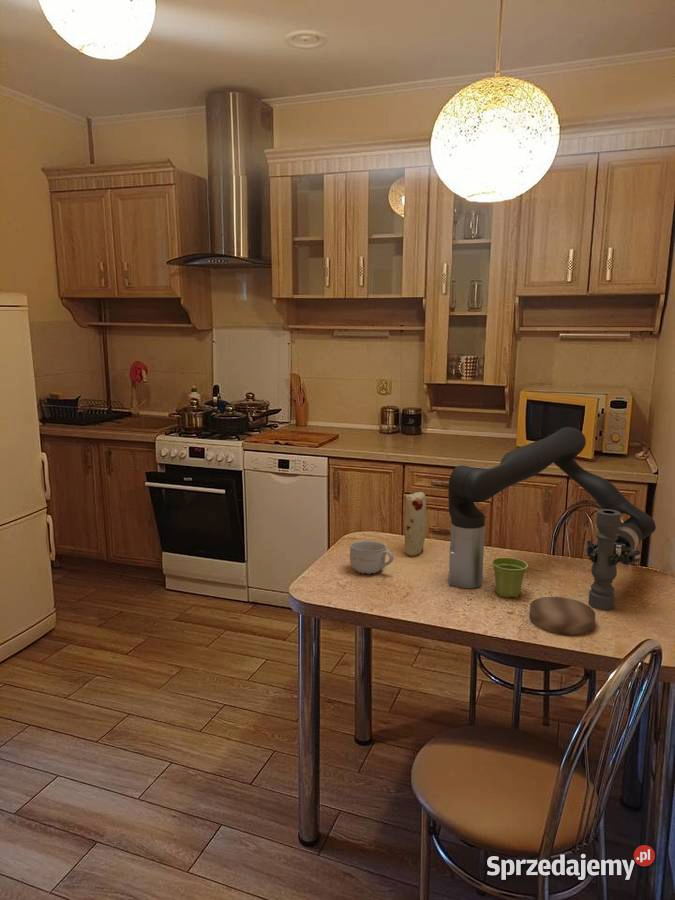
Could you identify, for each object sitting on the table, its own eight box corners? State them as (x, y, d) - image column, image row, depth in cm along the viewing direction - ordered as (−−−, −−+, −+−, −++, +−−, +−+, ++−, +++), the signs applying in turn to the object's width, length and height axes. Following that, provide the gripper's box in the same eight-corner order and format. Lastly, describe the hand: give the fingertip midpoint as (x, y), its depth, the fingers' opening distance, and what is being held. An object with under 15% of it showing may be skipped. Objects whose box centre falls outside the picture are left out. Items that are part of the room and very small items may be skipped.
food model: (419, 559, 194) (421, 497, 190) (399, 556, 197) (400, 495, 193) (428, 550, 203) (430, 490, 199) (409, 547, 205) (410, 488, 202)
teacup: (342, 569, 185) (342, 544, 184) (367, 561, 193) (368, 536, 191) (375, 583, 175) (376, 556, 174) (401, 573, 182) (402, 547, 181)
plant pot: (498, 584, 175) (500, 554, 174) (531, 592, 170) (533, 562, 168) (484, 594, 168) (485, 564, 166) (518, 603, 162) (519, 572, 161)
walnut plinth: (534, 633, 146) (535, 621, 146) (525, 606, 161) (525, 595, 160) (601, 637, 144) (602, 625, 144) (586, 609, 159) (587, 598, 158)
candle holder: (616, 611, 158) (625, 516, 153) (590, 609, 159) (598, 514, 154) (611, 601, 164) (619, 509, 159) (586, 599, 165) (593, 508, 160)
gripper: (594, 525, 174) (574, 540, 160) (650, 535, 165) (633, 552, 152) (592, 550, 175) (572, 568, 162) (647, 562, 166) (630, 581, 153)
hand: (602, 560), depth 157 cm, fingers closed on candle holder, 3 cm apart
